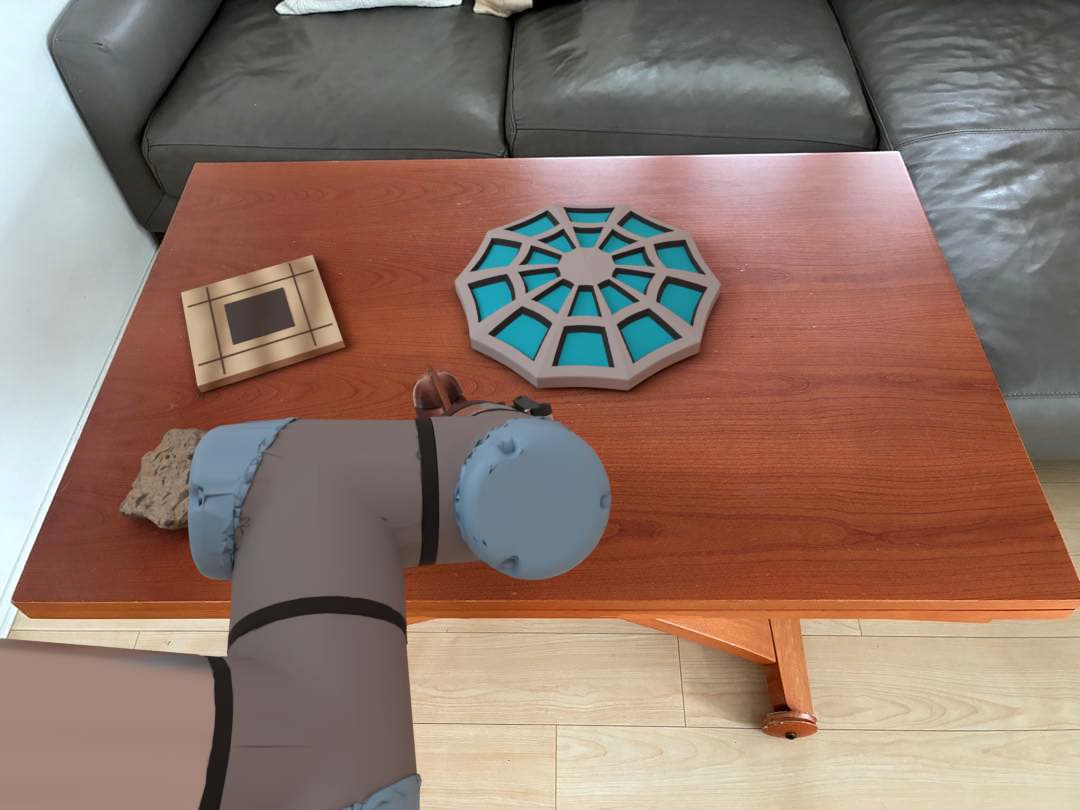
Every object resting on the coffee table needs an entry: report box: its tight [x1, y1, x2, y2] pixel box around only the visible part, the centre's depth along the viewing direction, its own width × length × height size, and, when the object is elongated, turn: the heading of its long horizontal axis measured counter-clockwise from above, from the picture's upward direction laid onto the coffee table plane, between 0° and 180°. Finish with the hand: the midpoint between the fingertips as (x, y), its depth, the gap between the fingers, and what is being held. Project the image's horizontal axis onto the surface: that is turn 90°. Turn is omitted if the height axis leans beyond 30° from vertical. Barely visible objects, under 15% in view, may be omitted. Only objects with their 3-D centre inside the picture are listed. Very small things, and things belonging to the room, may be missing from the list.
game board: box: [180, 254, 346, 394], centre depth 89 cm, size 16×16×1 cm
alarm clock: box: [411, 364, 469, 418], centre depth 68 cm, size 11×5×15 cm, turn 22°
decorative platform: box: [454, 203, 722, 392], centre depth 88 cm, size 31×29×5 cm
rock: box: [118, 427, 209, 531], centre depth 73 cm, size 11×11×4 cm
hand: (442, 427), depth 72 cm, fingers open, 6 cm apart
